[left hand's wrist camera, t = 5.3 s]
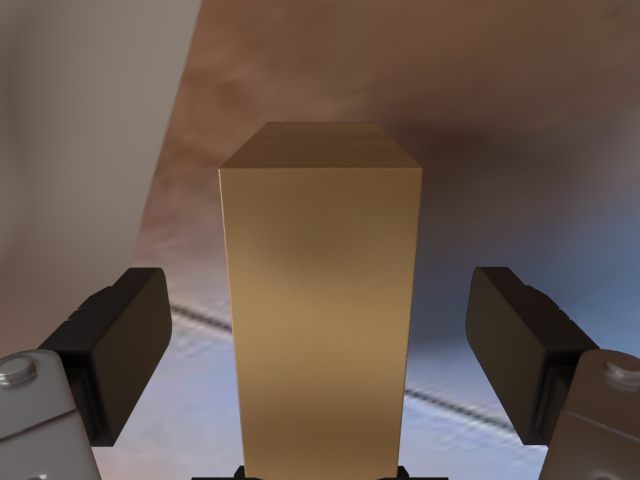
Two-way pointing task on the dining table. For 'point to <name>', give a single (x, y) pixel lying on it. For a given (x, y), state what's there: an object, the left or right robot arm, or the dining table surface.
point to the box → (320, 296)
